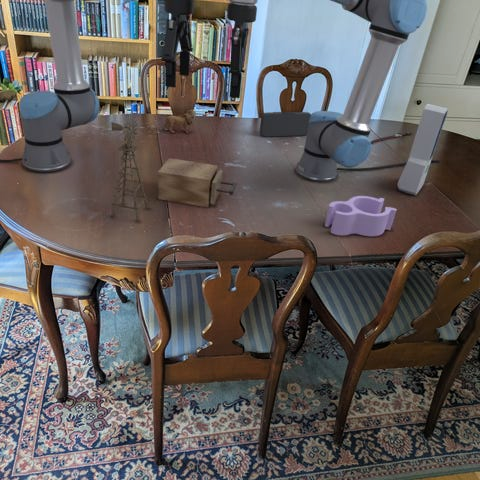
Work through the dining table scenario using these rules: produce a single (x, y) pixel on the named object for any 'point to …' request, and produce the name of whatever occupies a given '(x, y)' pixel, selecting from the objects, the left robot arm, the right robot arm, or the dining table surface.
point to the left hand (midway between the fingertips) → (177, 80)
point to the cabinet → (186, 182)
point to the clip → (359, 216)
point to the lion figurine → (180, 121)
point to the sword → (389, 137)
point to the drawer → (219, 187)
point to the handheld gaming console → (284, 123)
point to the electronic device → (422, 149)
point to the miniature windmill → (125, 147)
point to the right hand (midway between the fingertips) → (234, 96)
